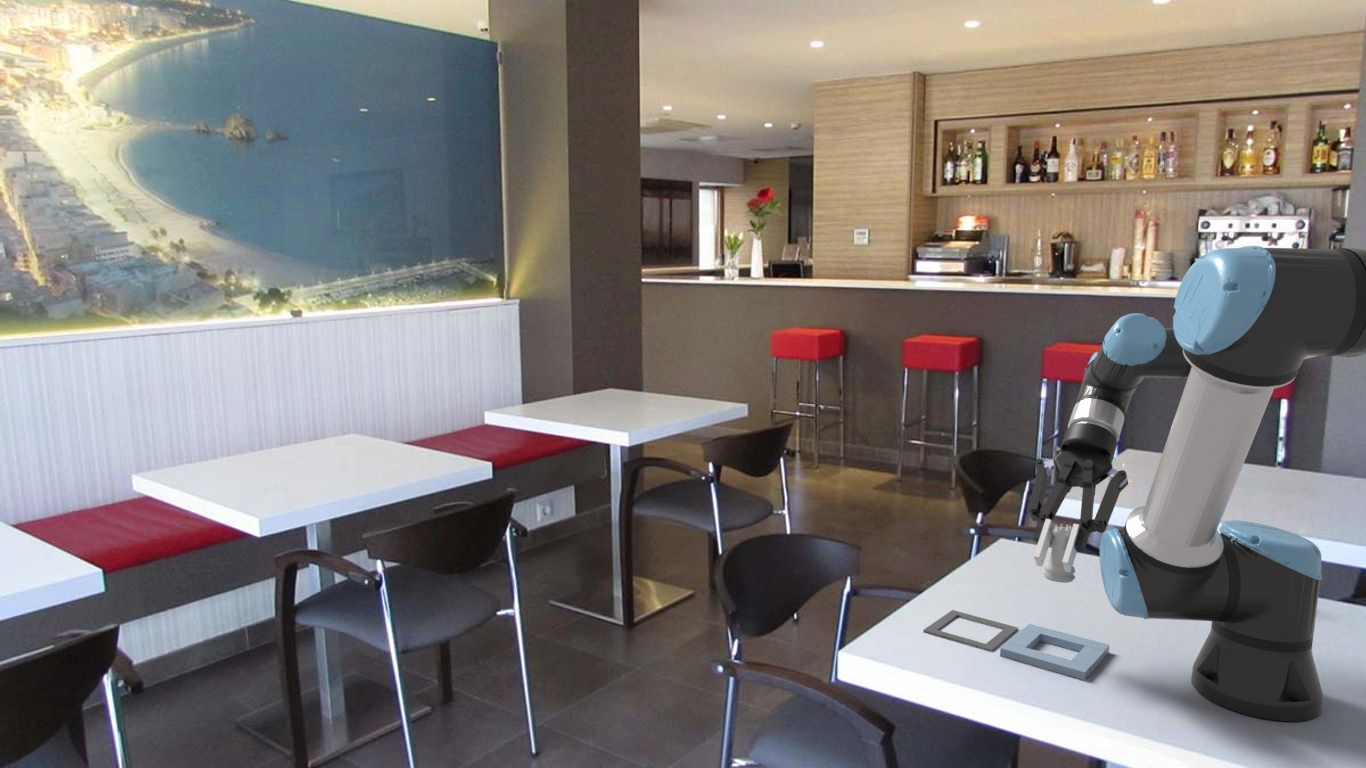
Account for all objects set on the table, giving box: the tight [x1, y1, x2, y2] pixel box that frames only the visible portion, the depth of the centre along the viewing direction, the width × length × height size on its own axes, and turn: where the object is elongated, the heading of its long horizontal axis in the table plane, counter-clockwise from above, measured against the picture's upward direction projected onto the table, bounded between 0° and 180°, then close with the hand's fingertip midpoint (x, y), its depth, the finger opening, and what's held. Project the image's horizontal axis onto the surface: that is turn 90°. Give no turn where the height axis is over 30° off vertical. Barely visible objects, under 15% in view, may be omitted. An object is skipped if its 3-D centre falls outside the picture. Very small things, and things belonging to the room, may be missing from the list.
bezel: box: [922, 609, 1019, 652], centre depth 146 cm, size 11×11×1 cm
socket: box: [999, 623, 1110, 681], centre depth 138 cm, size 12×12×1 cm
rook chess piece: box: [1042, 522, 1076, 584], centre depth 135 cm, size 4×4×8 cm
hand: (1052, 563), depth 132 cm, fingers closed on rook chess piece, 3 cm apart
